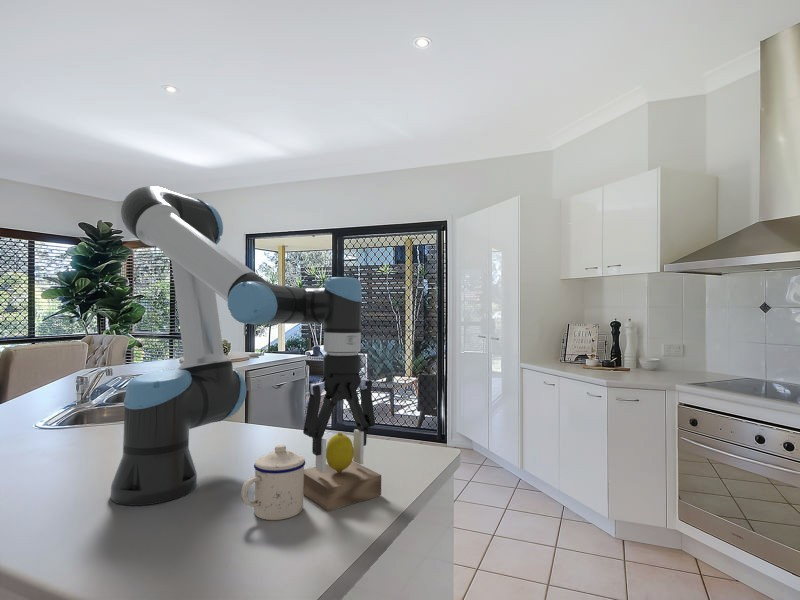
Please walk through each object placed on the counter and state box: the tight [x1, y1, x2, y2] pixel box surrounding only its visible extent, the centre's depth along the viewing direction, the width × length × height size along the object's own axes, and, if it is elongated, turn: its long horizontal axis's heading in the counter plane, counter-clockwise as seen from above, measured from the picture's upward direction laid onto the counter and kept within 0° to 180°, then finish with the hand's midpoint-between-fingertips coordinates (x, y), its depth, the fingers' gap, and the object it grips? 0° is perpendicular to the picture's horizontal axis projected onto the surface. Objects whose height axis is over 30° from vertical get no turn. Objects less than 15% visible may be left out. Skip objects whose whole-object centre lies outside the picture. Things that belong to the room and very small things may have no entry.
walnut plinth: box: [303, 460, 382, 512], centre depth 90 cm, size 12×12×4 cm
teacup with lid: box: [240, 444, 306, 521], centre depth 80 cm, size 12×9×12 cm
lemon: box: [326, 432, 353, 473], centre depth 90 cm, size 6×6×8 cm
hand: (339, 466), depth 90 cm, fingers open, 8 cm apart
